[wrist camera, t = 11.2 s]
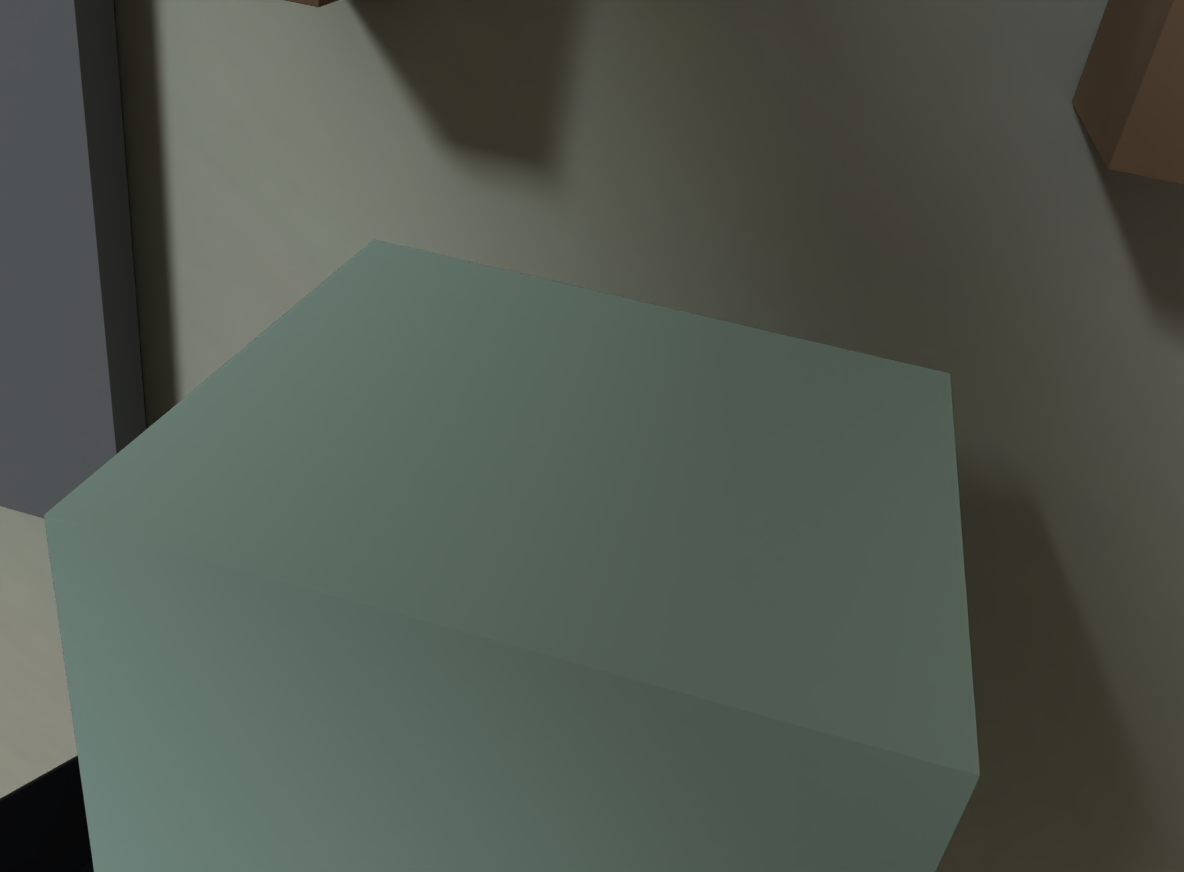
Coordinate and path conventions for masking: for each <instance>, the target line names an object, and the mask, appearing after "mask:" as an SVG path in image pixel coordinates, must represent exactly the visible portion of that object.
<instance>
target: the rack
mask: <svg viewBox="0 0 1184 872" xmlns="http://www.w3.org/2000/svg"><path fill="white" fill-rule="evenodd" d="M286 1H291V2H296V3H301V4H305V5H310V6H315V7H321V6H323V5H326V4H329V3H332V2H335V1H338V0H286ZM1072 104H1073V106H1074V108H1075V109H1076V111H1077V113H1078V115H1079V117H1080V119H1081V120H1082V122H1083V124H1084V126H1085V128H1086V130H1087V132H1088V133H1089V135H1090V137H1091V139H1092V141H1093V143H1094V144H1095V146H1096V148H1097V150H1098V152H1099V154H1100V156H1101V157H1102V159H1103V161H1104V163H1105V165H1106V167H1107V168H1108V169H1110V170H1115V171H1120V172H1125V173H1129V174H1134V175H1139V176H1144V177H1149V178H1154V179H1159V180H1164V181H1168V182H1173V183H1178V184H1183V185H1184V0H1109V1H1108V4H1107V7H1106V9H1105V12H1104V15H1103V18H1102V20H1101V23H1100V26H1099V29H1098V32H1097V34H1096V37H1095V40H1094V43H1093V45H1092V48H1091V51H1090V54H1089V56H1088V59H1087V62H1086V65H1085V67H1084V70H1083V73H1082V76H1081V79H1080V81H1079V84H1078V87H1077V90H1076V92H1075V95H1074V98H1073V101H1072Z"/></svg>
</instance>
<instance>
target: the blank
mask: <svg viewBox="0 0 1184 872" xmlns="http://www.w3.org/2000/svg"><path fill="white" fill-rule="evenodd" d="M44 520H45V527H46V534H47V541H48V548H49V555H50V563H51V570H52V577H53V584H54V591H55V598H56V605H57V612H58V619H59V626H60V633H61V641H62V648H63V655H64V662H65V669H66V676H67V683H68V690H69V697H70V704H71V711H72V719H73V726H74V733H75V740H76V747H77V754H78V761H79V768H80V775H81V782H82V789H83V796H84V804H85V811H86V818H87V825H88V832H89V839H90V846H91V853H92V860H93V867H94V872H936V870H937V867H938V865H939V863H940V861H941V859H942V857H943V855H944V852H945V850H946V848H947V846H948V844H949V842H950V840H951V837H952V835H953V833H954V831H955V829H956V827H957V824H958V822H959V820H960V818H961V816H962V814H963V812H964V809H965V807H966V805H967V803H968V801H969V799H970V797H971V794H972V792H973V790H974V788H975V786H976V784H977V782H978V779H979V777H980V769H979V755H978V742H977V729H976V715H975V702H974V688H973V675H972V662H971V648H970V635H969V621H968V608H967V595H966V581H965V568H964V555H963V541H962V528H961V514H960V501H959V488H958V474H957V461H956V447H955V434H954V421H953V407H952V394H951V381H950V373H946V372H942V371H938V370H933V369H929V368H925V367H921V366H916V365H912V364H908V363H903V362H899V361H895V360H891V359H886V358H882V357H878V356H873V355H869V354H865V353H860V352H856V351H852V350H848V349H843V348H839V347H835V346H830V345H826V344H822V343H817V342H813V341H809V340H805V339H800V338H796V337H792V336H787V335H783V334H779V333H774V332H770V331H766V330H762V329H757V328H753V327H749V326H744V325H740V324H736V323H731V322H727V321H723V320H719V319H714V318H710V317H706V316H701V315H697V314H693V313H689V312H684V311H680V310H676V309H671V308H667V307H663V306H658V305H654V304H650V303H646V302H641V301H637V300H633V299H628V298H624V297H620V296H615V295H611V294H607V293H603V292H598V291H594V290H590V289H585V288H581V287H577V286H572V285H568V284H564V283H560V282H555V281H551V280H547V279H542V278H538V277H534V276H529V275H525V274H521V273H517V272H512V271H508V270H504V269H499V268H495V267H491V266H487V265H482V264H478V263H474V262H469V261H465V260H461V259H456V258H452V257H448V256H444V255H439V254H435V253H431V252H426V251H422V250H418V249H413V248H409V247H405V246H401V245H396V244H392V243H388V242H383V241H379V240H375V239H374V240H373V241H372V242H371V243H369V244H368V245H367V246H366V247H365V248H363V249H362V250H361V251H360V252H359V253H357V254H356V255H355V256H354V257H353V258H351V259H350V260H349V261H348V262H347V263H345V264H344V265H343V266H342V267H341V268H339V269H338V270H337V271H336V272H335V273H333V274H332V275H331V276H330V277H329V278H327V279H326V280H325V281H324V282H323V283H321V284H320V285H319V286H318V287H317V288H315V289H314V290H313V291H312V292H311V293H309V294H308V295H307V296H306V297H305V298H303V299H302V300H301V301H300V302H299V303H297V304H296V305H295V306H294V307H293V308H291V309H290V310H289V311H288V312H287V313H285V314H284V315H283V316H282V317H281V318H279V319H278V320H277V321H276V322H275V323H273V324H272V325H271V326H270V327H269V328H267V329H266V330H265V331H264V332H263V333H261V334H260V335H259V336H258V337H257V338H255V339H254V340H253V341H252V342H251V343H249V344H248V345H247V346H246V347H245V348H243V349H242V350H241V351H240V352H239V353H237V354H236V355H235V356H234V357H233V358H231V359H230V360H229V361H228V362H227V363H225V364H224V365H223V366H222V367H221V368H219V369H218V370H217V371H216V372H215V373H213V374H212V375H211V376H210V377H209V378H207V379H206V380H205V381H204V382H203V383H201V384H200V385H199V386H198V387H197V388H195V389H194V390H193V391H192V392H191V393H189V394H188V395H187V396H186V397H185V398H183V399H182V400H181V401H180V402H179V403H177V404H176V405H175V406H174V407H173V408H171V409H170V410H169V411H168V412H167V413H165V414H164V415H163V416H162V417H161V418H159V419H158V420H157V421H156V422H155V423H153V424H152V425H151V426H150V427H149V428H147V429H146V430H145V431H144V432H143V433H142V434H140V435H139V436H138V437H137V438H136V439H134V440H133V441H132V442H131V443H130V444H128V445H127V446H126V447H125V448H124V449H122V450H121V451H120V452H119V453H118V454H116V455H115V456H114V457H113V458H112V459H110V460H109V461H108V462H107V463H106V464H104V465H103V466H102V467H101V468H100V469H98V470H97V471H96V472H95V473H94V474H92V475H91V476H90V477H89V478H88V479H86V480H85V481H84V482H83V483H82V484H80V485H79V486H78V487H77V488H76V489H74V490H73V491H72V492H71V493H70V494H68V495H67V496H66V497H65V498H64V499H62V500H61V501H60V502H59V503H58V504H56V505H55V506H54V507H53V508H52V509H50V510H49V511H48V512H47V513H46V514H44Z"/></svg>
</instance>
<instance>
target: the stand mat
mask: <svg viewBox="0 0 1184 872" xmlns="http://www.w3.org/2000/svg"><path fill="white" fill-rule="evenodd" d="M145 430H146V421H145V408H144V395H143V382H142V369H141V355H140V342H139V329H138V316H137V303H136V290H135V277H134V264H133V251H132V238H131V225H130V211H129V198H128V185H127V172H126V159H125V146H124V133H123V120H122V107H121V94H120V81H119V67H118V54H117V41H116V28H115V15H114V2H113V0H0V506H3V507H6V508H10V509H13V510H17V511H21V512H24V513H28V514H31V515H35V516H38V517H42V518H44V514H46V513H47V512H48V511H49V510H50V509H52V508H53V507H54V506H55V505H56V504H58V503H59V502H60V501H61V500H62V499H64V498H65V497H66V496H67V495H68V494H70V493H71V492H72V491H73V490H74V489H76V488H77V487H78V486H79V485H80V484H82V483H83V482H84V481H85V480H86V479H88V478H89V477H90V476H91V475H92V474H94V473H95V472H96V471H97V470H98V469H100V468H101V467H102V466H103V465H104V464H106V463H107V462H108V461H109V460H110V459H112V458H113V457H114V456H115V455H116V454H118V453H119V452H120V451H121V450H122V449H124V448H125V447H126V446H127V445H128V444H130V443H131V442H132V441H133V440H134V439H136V438H137V437H138V436H139V435H140V434H142V433H143V432H144V431H145Z"/></svg>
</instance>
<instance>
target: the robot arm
mask: <svg viewBox="0 0 1184 872" xmlns="http://www.w3.org/2000/svg"><path fill="white" fill-rule="evenodd" d="M0 872H94V867H93V860H92V853H91V846H90V839H89V832H88V825H87V818H86V811H85V804H84V796H83V789H82V782H81V775H80V768H79V761H78V755H77V756H76V757H74V758H72V759H70V760H68V761H67V762H65V763H63V764H61V765H59V766H58V767H56V768H54V769H52V770H50V771H49V772H47V773H45V774H43V775H42V776H40V777H38V778H36V779H34V780H33V781H31V782H29V783H27V784H25V785H24V786H22V787H20V788H18V789H16V790H15V791H13V792H11V793H9V794H8V795H6V796H4V797H2V798H0Z"/></svg>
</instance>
